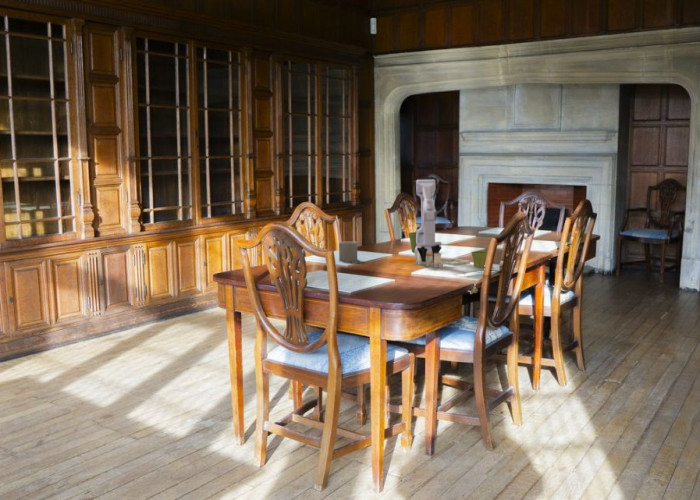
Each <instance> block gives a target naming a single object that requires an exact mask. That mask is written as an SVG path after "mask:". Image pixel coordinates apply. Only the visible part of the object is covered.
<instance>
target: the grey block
mask: <svg viewBox="0 0 700 500" xmlns="http://www.w3.org/2000/svg"><path fill="white" fill-rule="evenodd" d="M338 260H339V262H341V261H342V262H343V263H351V262H350V261H355V262H357V261H358V241H349V240H348V241H347V240H346V241H340V242H338ZM342 262H341V263H342Z"/></svg>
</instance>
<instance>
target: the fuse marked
mask: <svg viewBox="0 0 700 500" xmlns="http://www.w3.org/2000/svg"><path fill="white" fill-rule="evenodd" d="M431 262H434V260H433V252H427V253H426V266H430V263H431Z"/></svg>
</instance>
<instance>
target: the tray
mask: <svg viewBox="0 0 700 500" xmlns="http://www.w3.org/2000/svg"><path fill="white" fill-rule="evenodd" d="M441 264H443V265H448V266H458V265H460V266H461V265H465V264H469V265H470V264H471V260H467V259H466V260H465V259H461V258H460V259H459V258H454V257H453V258H447V259H446V258H445V259H441Z"/></svg>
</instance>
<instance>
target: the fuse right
mask: <svg viewBox="0 0 700 500" xmlns="http://www.w3.org/2000/svg"><path fill="white" fill-rule="evenodd" d="M441 260H442V253H441V252H439V253H434V260H433V262H434V268H433V269H435V268H439V264H441Z"/></svg>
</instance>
